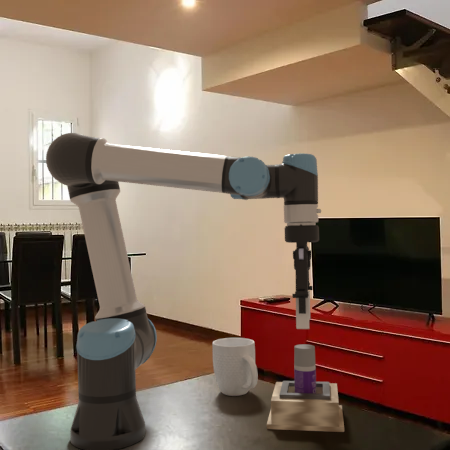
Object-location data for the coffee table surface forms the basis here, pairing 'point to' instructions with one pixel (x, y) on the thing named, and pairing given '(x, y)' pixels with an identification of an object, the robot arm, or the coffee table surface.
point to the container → (304, 369)
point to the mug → (234, 365)
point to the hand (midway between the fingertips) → (303, 323)
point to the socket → (306, 408)
